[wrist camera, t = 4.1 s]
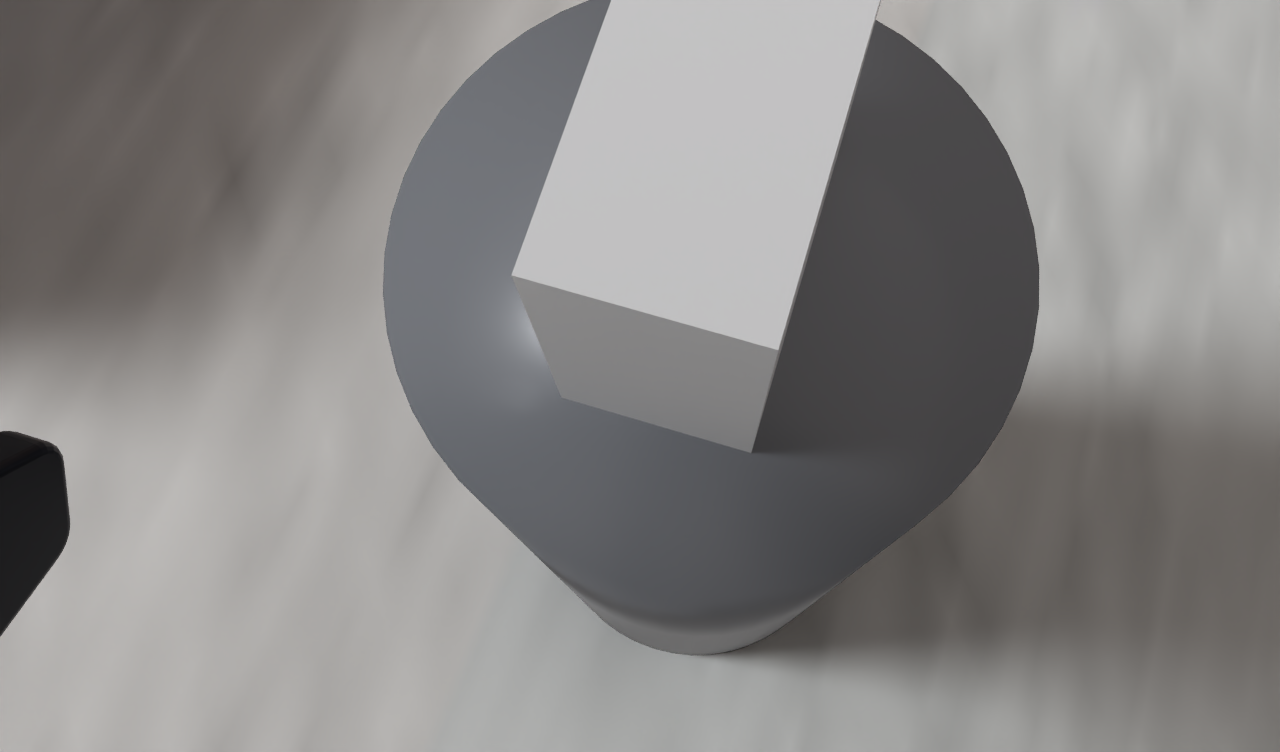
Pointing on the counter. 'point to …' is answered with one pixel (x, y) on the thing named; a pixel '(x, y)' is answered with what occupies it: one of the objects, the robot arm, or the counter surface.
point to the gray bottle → (710, 301)
